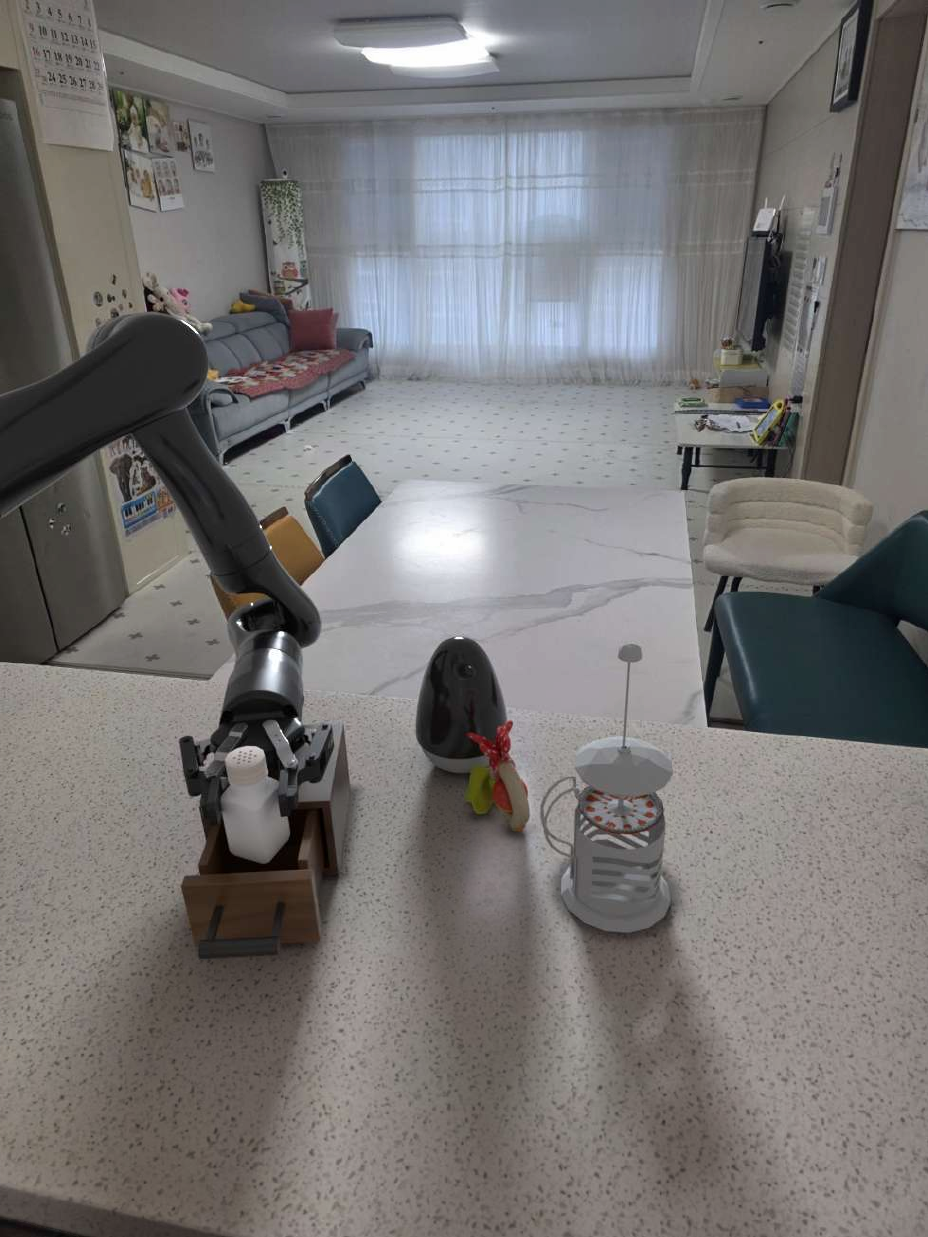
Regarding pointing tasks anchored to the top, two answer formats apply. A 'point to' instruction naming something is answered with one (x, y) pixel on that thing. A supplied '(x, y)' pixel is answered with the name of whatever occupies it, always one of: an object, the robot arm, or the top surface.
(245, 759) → the pepper shaker
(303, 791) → the cabinet
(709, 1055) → the top surface
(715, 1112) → the top surface
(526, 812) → the bird rattle
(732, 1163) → the top surface
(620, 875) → the french press
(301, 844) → the drawer
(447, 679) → the black egg-shaped device
